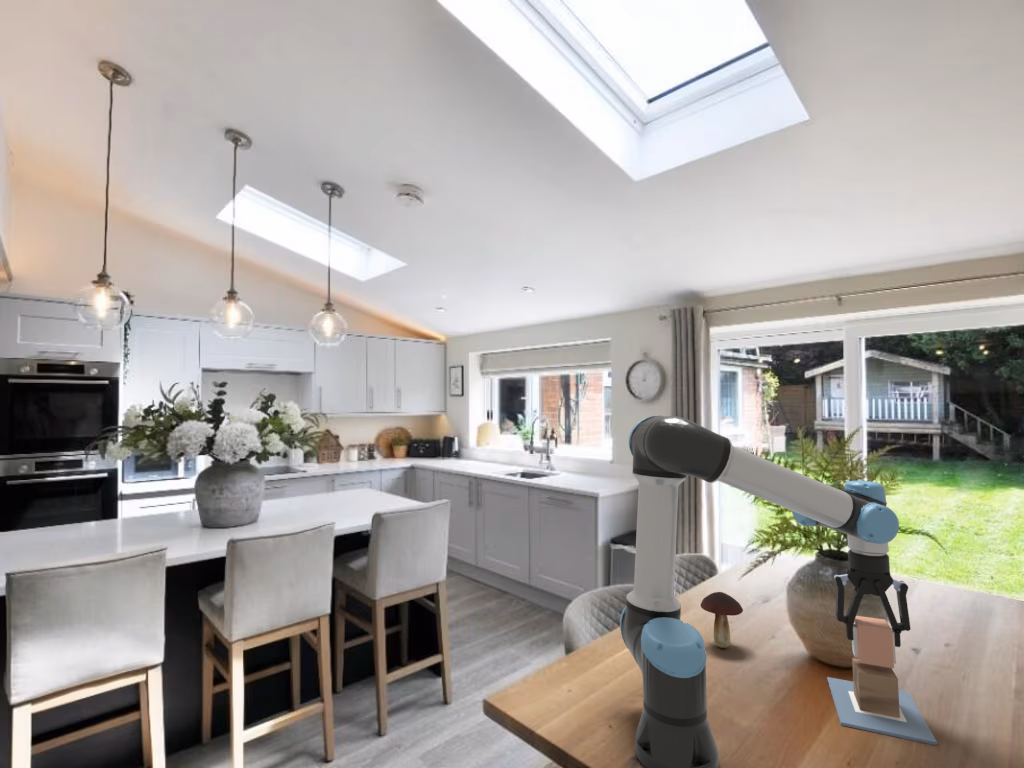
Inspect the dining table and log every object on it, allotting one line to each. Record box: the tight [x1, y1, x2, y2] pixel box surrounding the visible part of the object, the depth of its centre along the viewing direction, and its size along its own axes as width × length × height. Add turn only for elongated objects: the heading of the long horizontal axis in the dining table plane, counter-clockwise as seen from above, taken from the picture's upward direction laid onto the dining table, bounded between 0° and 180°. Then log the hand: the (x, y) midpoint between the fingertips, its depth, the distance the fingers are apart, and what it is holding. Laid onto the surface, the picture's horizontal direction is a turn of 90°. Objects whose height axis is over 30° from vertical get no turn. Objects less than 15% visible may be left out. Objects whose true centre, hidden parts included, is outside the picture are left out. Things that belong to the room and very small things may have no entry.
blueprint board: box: [826, 676, 938, 746], centre depth 111 cm, size 20×16×1 cm
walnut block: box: [851, 657, 900, 718], centre depth 111 cm, size 7×7×8 cm
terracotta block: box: [854, 615, 895, 669], centre depth 112 cm, size 6×6×8 cm
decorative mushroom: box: [700, 591, 744, 649], centre depth 141 cm, size 11×11×15 cm
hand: (873, 657), depth 112 cm, fingers closed on terracotta block, 6 cm apart
